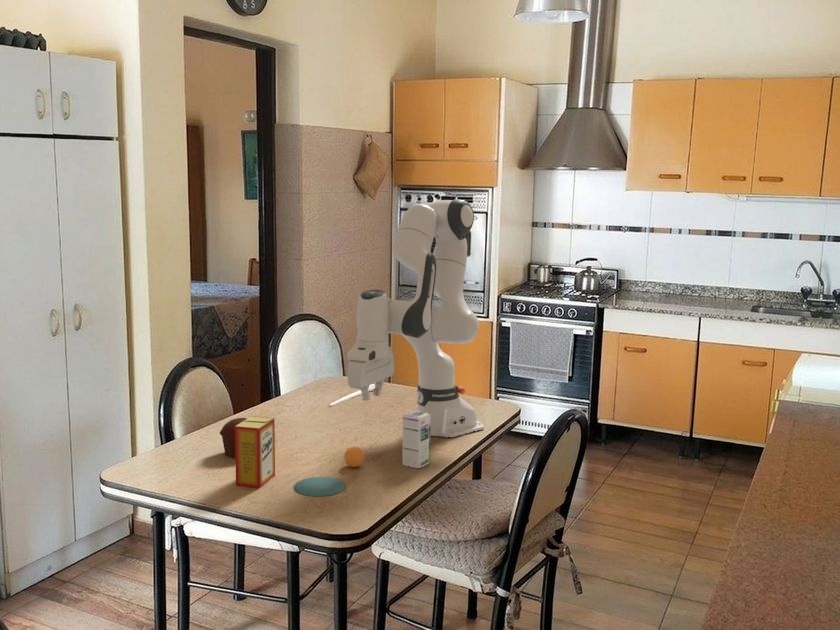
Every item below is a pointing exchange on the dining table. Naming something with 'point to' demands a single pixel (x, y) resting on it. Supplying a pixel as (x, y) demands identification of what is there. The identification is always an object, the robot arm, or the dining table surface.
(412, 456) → the syrup box
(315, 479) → the teal plate
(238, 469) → the baking soda box
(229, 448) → the muffin
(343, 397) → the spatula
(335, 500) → the dining table surface
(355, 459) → the ball
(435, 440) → the dining table surface
